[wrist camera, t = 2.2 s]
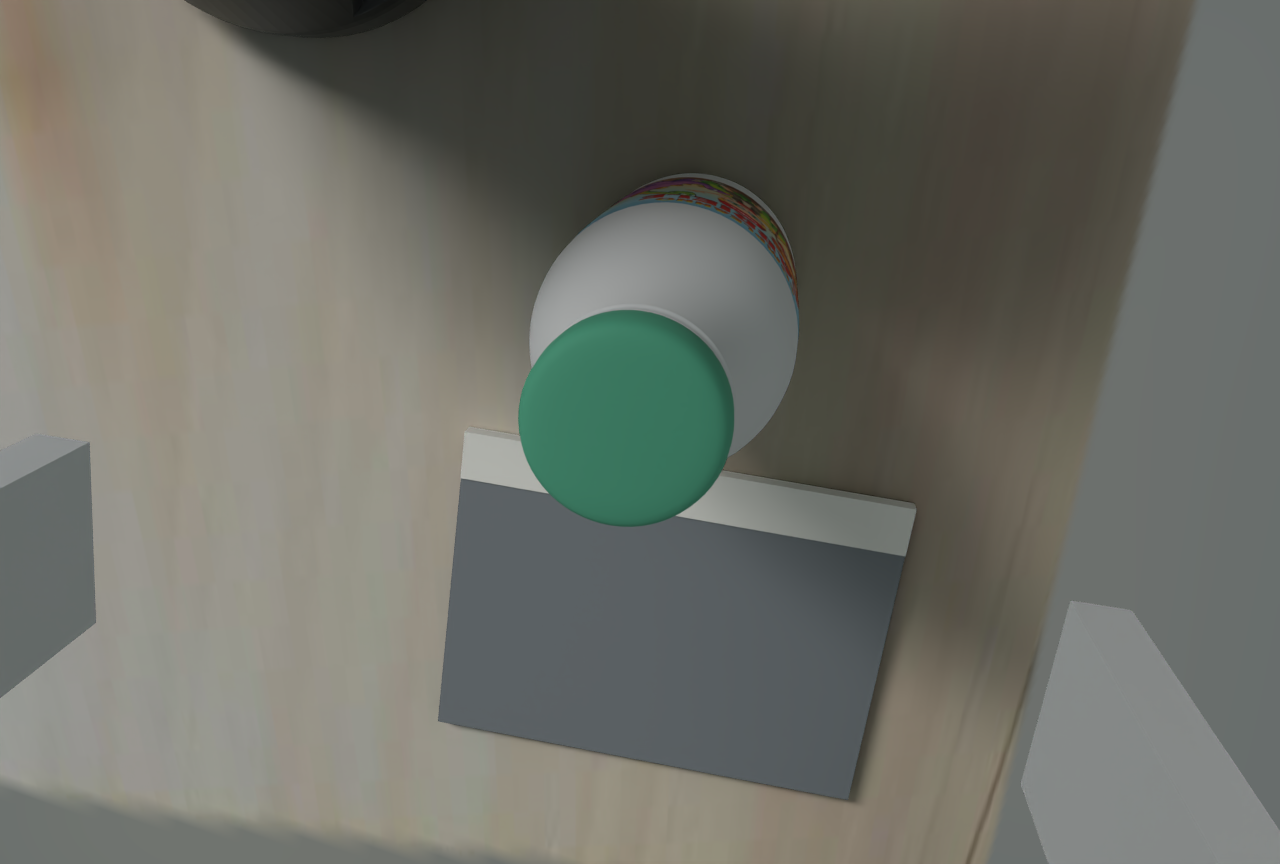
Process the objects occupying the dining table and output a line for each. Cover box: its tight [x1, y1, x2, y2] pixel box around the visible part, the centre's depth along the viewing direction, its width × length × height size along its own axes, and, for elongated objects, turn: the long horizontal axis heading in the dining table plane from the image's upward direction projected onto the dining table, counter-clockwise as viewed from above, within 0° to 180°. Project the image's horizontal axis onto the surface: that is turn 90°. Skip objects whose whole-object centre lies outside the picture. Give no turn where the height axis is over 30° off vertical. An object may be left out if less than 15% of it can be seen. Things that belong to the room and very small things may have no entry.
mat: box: [438, 427, 917, 800], centre depth 46 cm, size 18×14×1 cm
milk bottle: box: [518, 173, 799, 527], centre depth 33 cm, size 8×8×20 cm
